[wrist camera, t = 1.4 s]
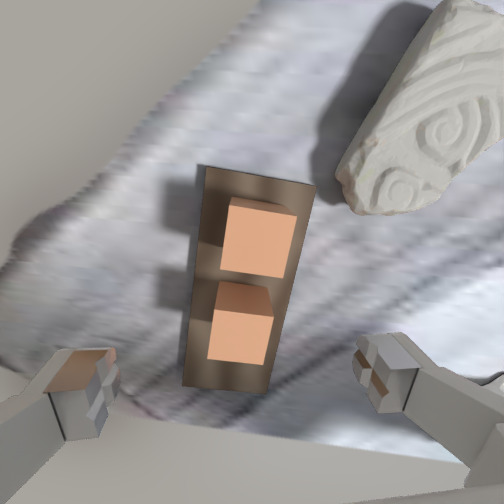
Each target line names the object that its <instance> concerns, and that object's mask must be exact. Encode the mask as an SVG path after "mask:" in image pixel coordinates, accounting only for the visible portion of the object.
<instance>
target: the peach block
mask: <svg viewBox="0 0 504 504" xmlns="http://www.w3.org/2000/svg"><path fill="white" fill-rule="evenodd" d="M296 220H297V216H296V215H295V214H294V213H293V212H292V211H290V210H289V209H288V208H287V207H286V206H284V205H279V204H273V203H267V202H261V201H255V200H249V199H243V198H238V197H232V198H231V201H230V204H229V211H228V218H227V225H226V231H225V238H224V245H223V252H222V259H221V266H220V269H221V270H228V271H235V272H242V273H249V274H256V275H263V276H270V277H277V278H283V276H284V272H285V267H286V263H287V259H288V254H289V250H290V246H291V241H292V237H293V233H294V228H295V224H296Z"/></svg>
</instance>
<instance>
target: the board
mask: <svg viewBox="0 0 504 504" xmlns="http://www.w3.org/2000/svg"><path fill="white" fill-rule="evenodd" d="M316 189H317V186H312V185H307V184H301V183H296V182H290V181H285V180H279V179H274V178H268V177H262V176H257V175H251V174H246V173H240V172H235V171H229V170H224V169H218V168H213V167H206V175H205V184H204V193H203V202H202V211H201V220H200V229H199V238H198V247H197V256H196V265H195V274H194V283H193V292H192V301H191V310H190V319H189V328H188V337H187V346H186V355H185V364H184V373H183V382H182V386H187V387H197V388H208V389H218V390H228V391H238V392H249V393H259V394H266V392H267V388H268V384H269V380H270V376H271V372H272V368H273V364H274V360H275V356H276V352H277V348H278V344H279V339H280V335H281V331H282V327H283V323H284V319H285V315H286V311H287V307H288V303H289V299H290V295H291V291H292V287H293V283H294V279H295V275H296V270H297V266H298V262H299V258H300V254H301V250H302V246H303V242H304V238H305V234H306V230H307V226H308V222H309V218H310V214H311V210H312V206H313V201H314V197H315V193H316ZM232 197H238V198H243V199H249V200H255V201H261V202H267V203H273V204H279V205H284V206H286V207H287V208H288V209H289V210H290V211H292V212H293V213H294V214H295V215H296V216H297V220H296V224H295V228H294V233H293V237H292V241H291V246H290V250H289V254H288V259H287V263H286V267H285V272H284V276H283V278H277V277H270V276H263V275H256V274H249V273H242V272H235V271H228V270H221V269H220V266H221V259H222V252H223V245H224V238H225V231H226V225H227V218H228V211H229V204H230V201H231V198H232ZM219 281H224V282H231V283H238V284H245V285H253V286H260V287H267V288H268V292H269V297H270V301H271V306H272V311H273V315H274V319H273V324H272V328H271V332H270V337H269V341H268V345H267V350H266V354H265V358H264V363H263V365H259V364H250V363H241V362H231V361H222V360H213V359H207V356H208V349H209V342H210V335H211V328H212V322H213V315H214V308H215V303H216V297H217V292H218V287H219Z"/></svg>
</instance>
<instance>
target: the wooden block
mask: <svg viewBox="0 0 504 504" xmlns="http://www.w3.org/2000/svg"><path fill="white" fill-rule="evenodd" d="M273 319H274V315H273V311H272V306H271V301H270V297H269V292H268V288H267V287H260V286H253V285H245V284H238V283H231V282H224V281H219V287H218V292H217V297H216V303H215V308H214V315H213V322H212V328H211V335H210V342H209V349H208V356H207V359H213V360H222V361H231V362H241V363H250V364H259V365H263V363H264V358H265V354H266V350H267V345H268V341H269V337H270V332H271V328H272V324H273Z"/></svg>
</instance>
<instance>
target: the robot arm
mask: <svg viewBox="0 0 504 504" xmlns="http://www.w3.org/2000/svg"><path fill="white" fill-rule="evenodd" d="M356 345H357V346H358V348H359V350H358V351H357V352H356V353H355V354H354V356H353V362H352V363H353V370H354V373H355V376H356V378H357V380H358V381H359V383H360V384H362V385H363V386H364V387H366V388H367V394H366V395H367V396H368V398H369V400H370V401H371V403H372V405H373V406H374V408H375V410H376V411H377V413H378V414H379V413H397V412H404V413H403V414H404V415H405V416H407V417H408V418H409V419H410V420H412V421H413V422H414V423H415V424H416V425H418V426H419V427H420V428H421V429H423V430H424V431H425V432H426V433H427V434H429V435H430V436H431V437H432V438H433V439H435V440H436V441H437V442H438V443H440V444H441V445H442V446H443V447H444V448H446V449H447V450H448V451H449V452H451V453H452V454H453V455H454V456H455V457H457V458H458V459H459V460H460V461H462V462H463V463H464V464H465V465H466V466H468V467H469V468H470V469H471V470H470V471H469V473H468V475H467V477H466V479H465V481H464V487H465V488H462V489H454V490H447V491H438V492H431V493H423V494H415V495H407V496H400V497H391V498H384V499H376V500H368V501H360V502H353V503H345V504H504V374H503V375H501V376H500V377H498V378H497V379H495V380H494V381H492V382H491V383H489V384H486V385H484V386H480V385H478V384H476V383H474V382H472V381H470V380H468V379H466V378H464V377H462V376H460V375H458V374H456V373H454V372H452V371H450V370H448V369H446V368H444V367H438V366H437V365H436V364H435V363H434V362H433V361H432V360H431V359H430V358H429V357H428V356H427V355H426V354H425V353H424V352H423V351H422V350H421V349H420V348H419V347H418V346H417V345H416V344H415V343H414V342H413V341H412V340H411V339H410V338H409V337H408V336H407V335H406V334H404V333H402V332H398V333H387V334H370V335H360V336H359V337H358V339H357V343H356ZM116 358H117V355H116V351H115V349H114V348H112V347H98V348H72V349H60V350H58V351H56V352H55V353H54V354H53V356H52V357H51V358H50V359H49V360H48V362H47V363H46V364H45V365H44V366H43V367H42V369H41V370H40V371H39V372H38V373H37V375H36V376H35V377H34V378H33V379H32V381H31V382H30V383H29V384H28V386H26V388H25V389H24V390H23V391H22V392H21V394H20V395H16V396H12V397H10V398H8V399H7V400H5V401H3V402H2V403H0V504H5V503H6V502H7V501H8V500H9V499H10V498H11V497H12V496H13V495H14V494H15V493H16V492H17V491H18V490H19V489H20V488H21V487H22V486H23V485H24V484H25V483H26V482H27V481H28V480H29V479H30V478H31V477H32V476H33V475H34V474H35V473H36V472H37V471H38V470H39V469H40V468H41V467H42V466H43V465H44V464H45V463H46V462H47V461H48V460H49V459H50V458H51V457H52V456H53V455H54V454H55V453H56V452H57V451H58V450H59V449H60V448H61V447H62V446H63V445H64V444H65V442H66V441H75V440H83V439H92V438H98V437H99V435H100V433H101V431H102V428H103V426H104V424H105V422H106V419H107V417H108V410H107V407H108V406H109V405H110V404H111V403H112V402H114V401H115V398H116V396H117V394H118V391H119V386H120V369H119V367H118V366H116V365H115V364H114V362H115V360H116Z"/></svg>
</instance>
